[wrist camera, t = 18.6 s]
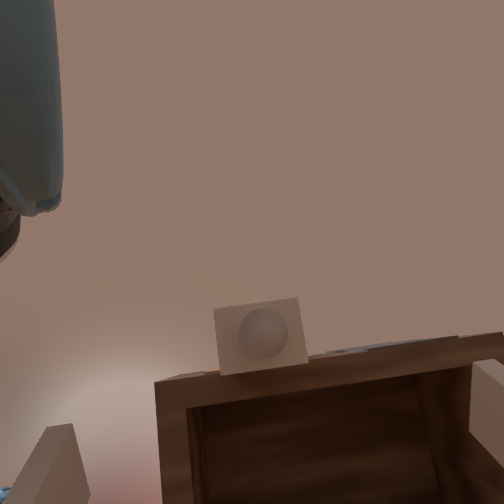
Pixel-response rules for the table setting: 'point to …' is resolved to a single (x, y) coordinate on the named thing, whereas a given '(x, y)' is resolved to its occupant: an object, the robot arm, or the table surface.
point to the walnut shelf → (332, 429)
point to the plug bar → (259, 336)
